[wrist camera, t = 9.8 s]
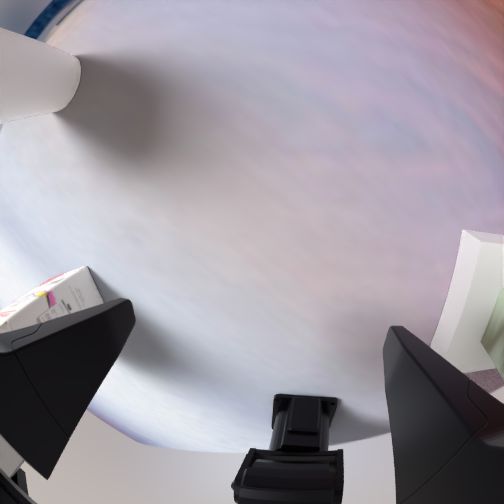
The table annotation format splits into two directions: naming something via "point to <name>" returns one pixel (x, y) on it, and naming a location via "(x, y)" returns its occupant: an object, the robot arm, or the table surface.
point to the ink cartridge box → (52, 300)
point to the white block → (471, 301)
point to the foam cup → (34, 77)
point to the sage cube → (496, 334)
